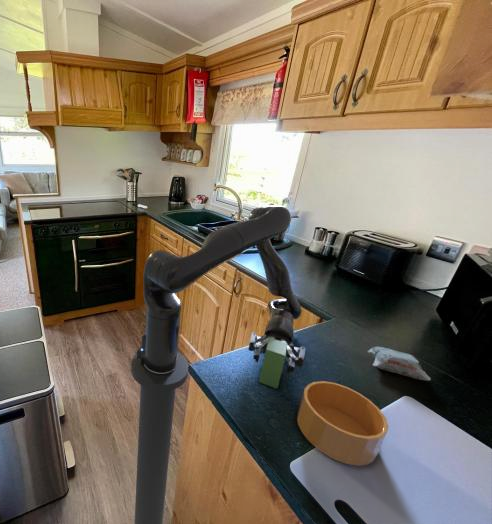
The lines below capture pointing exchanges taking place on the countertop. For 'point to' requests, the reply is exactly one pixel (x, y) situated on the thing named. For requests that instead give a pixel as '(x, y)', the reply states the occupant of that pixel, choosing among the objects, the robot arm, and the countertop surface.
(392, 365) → the packaged food
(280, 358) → the green block
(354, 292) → the countertop surface
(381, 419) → the orange round bowl
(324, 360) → the countertop surface
